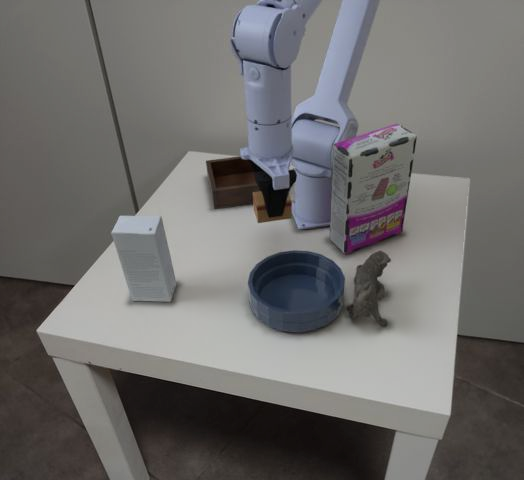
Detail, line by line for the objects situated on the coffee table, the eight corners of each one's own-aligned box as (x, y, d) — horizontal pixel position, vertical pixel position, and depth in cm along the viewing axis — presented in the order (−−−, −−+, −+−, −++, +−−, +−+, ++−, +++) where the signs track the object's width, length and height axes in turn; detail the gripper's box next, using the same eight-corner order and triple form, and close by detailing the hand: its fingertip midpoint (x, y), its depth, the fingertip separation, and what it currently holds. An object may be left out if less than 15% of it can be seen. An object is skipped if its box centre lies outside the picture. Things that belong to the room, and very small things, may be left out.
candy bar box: (384, 218, 90) (398, 121, 78) (402, 233, 87) (420, 135, 75) (326, 239, 87) (331, 141, 75) (344, 256, 84) (352, 156, 72)
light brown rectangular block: (286, 205, 81) (286, 187, 79) (292, 218, 79) (291, 200, 77) (253, 210, 81) (252, 192, 78) (257, 223, 78) (256, 205, 76)
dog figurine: (386, 335, 72) (393, 293, 67) (342, 329, 73) (346, 287, 68) (393, 277, 80) (400, 236, 74) (354, 273, 81) (358, 231, 76)
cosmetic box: (177, 283, 81) (163, 215, 72) (171, 302, 78) (155, 234, 70) (138, 282, 82) (119, 214, 73) (130, 301, 79) (110, 233, 70)
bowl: (329, 266, 82) (330, 244, 80) (354, 326, 74) (356, 304, 71) (243, 278, 81) (241, 257, 78) (258, 341, 73) (256, 320, 70)
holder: (268, 169, 102) (268, 152, 100) (279, 200, 95) (279, 182, 93) (207, 177, 101) (205, 160, 99) (214, 209, 94) (212, 191, 92)
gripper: (229, 95, 73) (237, 185, 83) (247, 146, 64) (254, 240, 74) (280, 88, 74) (282, 178, 84) (306, 138, 64) (304, 233, 74)
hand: (272, 207), depth 79 cm, fingers closed on light brown rectangular block, 3 cm apart
